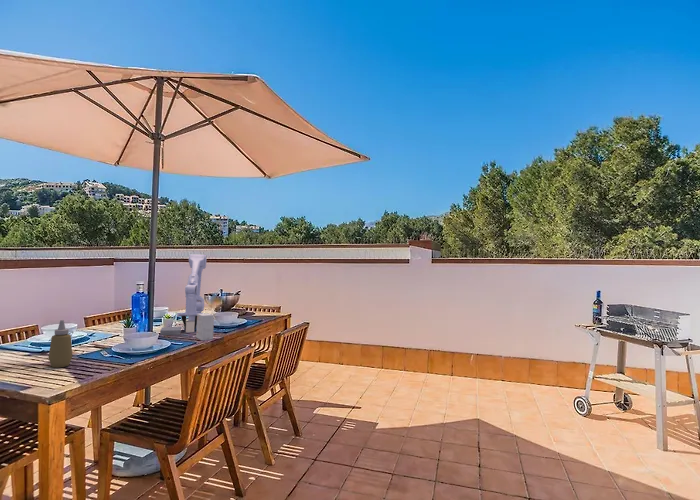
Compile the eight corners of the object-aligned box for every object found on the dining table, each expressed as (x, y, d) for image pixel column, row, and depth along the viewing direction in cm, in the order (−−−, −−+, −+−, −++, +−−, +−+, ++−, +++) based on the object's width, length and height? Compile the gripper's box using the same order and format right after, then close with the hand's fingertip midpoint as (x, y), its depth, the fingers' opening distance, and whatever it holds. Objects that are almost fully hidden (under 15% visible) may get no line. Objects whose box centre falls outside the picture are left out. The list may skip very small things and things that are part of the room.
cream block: (186, 331, 259) (186, 320, 259) (194, 330, 260) (194, 320, 260) (185, 332, 255) (186, 321, 255) (194, 332, 256) (194, 321, 256)
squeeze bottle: (45, 369, 173) (47, 322, 173) (50, 364, 180) (52, 319, 180) (70, 368, 176) (72, 321, 176) (73, 362, 183) (75, 318, 183)
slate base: (161, 331, 254) (162, 327, 254) (180, 331, 257) (181, 327, 257) (160, 335, 244) (160, 330, 244) (179, 334, 247) (179, 330, 247)
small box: (213, 339, 239) (214, 314, 239) (201, 340, 235) (202, 315, 235) (207, 336, 245) (208, 312, 245) (195, 337, 241) (196, 313, 241)
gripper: (177, 306, 252) (176, 330, 252) (204, 306, 256) (203, 330, 256) (177, 304, 258) (176, 328, 258) (204, 304, 263) (203, 328, 263)
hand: (190, 329), depth 258 cm, fingers closed on cream block, 4 cm apart
